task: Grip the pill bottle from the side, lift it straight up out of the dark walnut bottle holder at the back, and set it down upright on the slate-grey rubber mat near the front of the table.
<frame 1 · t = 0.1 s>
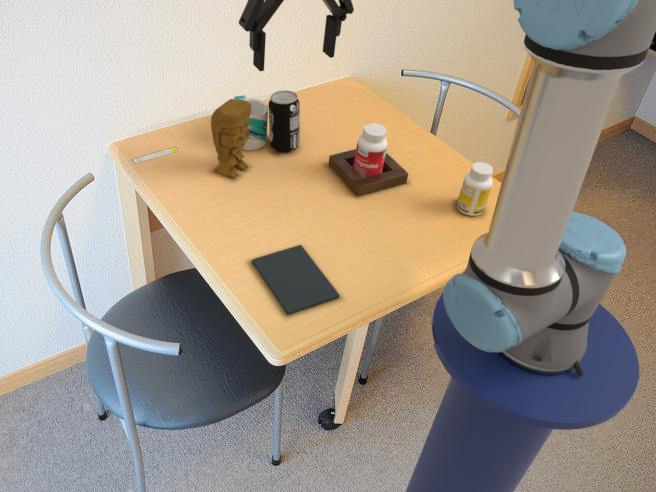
hand: (294, 61, 113), 29 cm above the table, tool pointing down, fingers open, 13 cm apart
pill bottle: (366, 174, 139), resting in holder
mat: (294, 279, 115), on the table
figurine: (229, 169, 139), on the table
holder: (366, 174, 139), on the table
beverage can: (285, 147, 145), on the table
supplement bottle: (469, 209, 132), on the table
mug: (246, 135, 148), on the table
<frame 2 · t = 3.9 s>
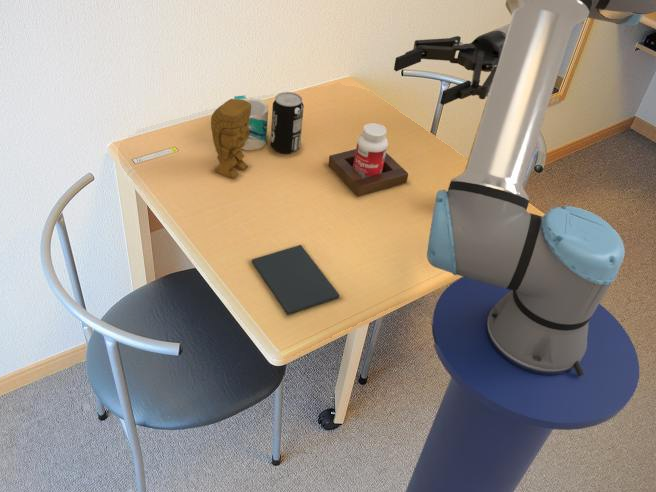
hand: (418, 81, 128), 20 cm above the table, tool horizontal, fingers open, 13 cm apart
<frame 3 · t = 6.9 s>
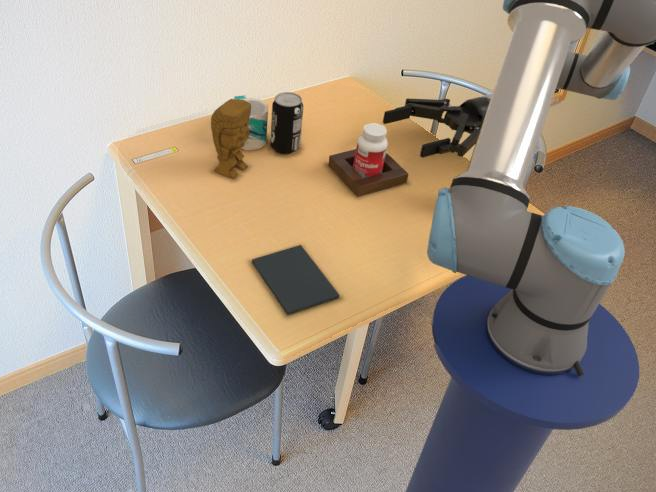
hand: (402, 134, 136), 8 cm above the table, tool horizontal, fingers open, 13 cm apart
nothing on the table moved.
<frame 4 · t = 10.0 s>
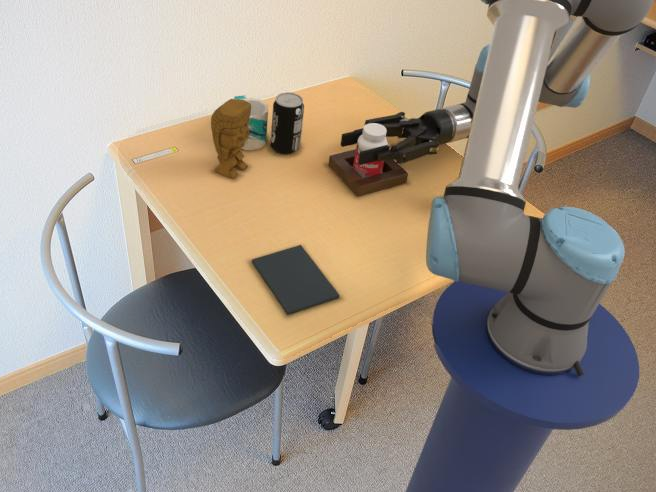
hand: (351, 149, 132), 8 cm above the table, tool horizontal, fingers closed on pill bottle, 6 cm apart
pill bottle: (366, 174, 139), resting in holder, touching gripper
everything else where it was.
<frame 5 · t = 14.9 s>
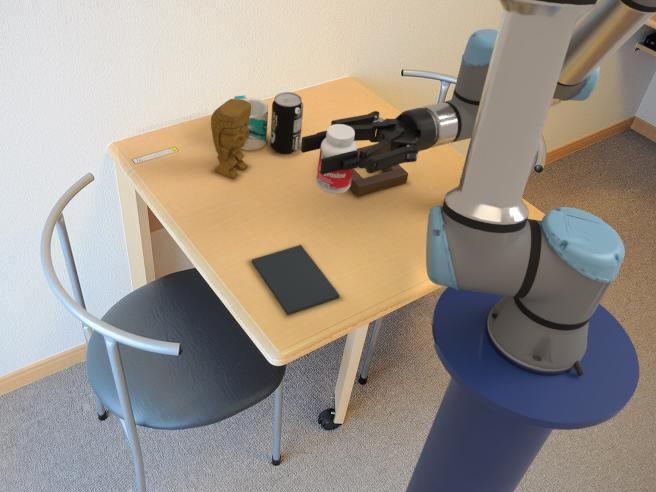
hand: (312, 155, 110), 19 cm above the table, tool horizontal, fingers closed on pill bottle, 6 cm apart
pill bottle: (333, 185, 117), point 11 cm above the table, touching gripper
everything else where it was.
when the fingers open (8 cm above the table, at t = 20.0 s): pill bottle stays where it is, resting on mat.
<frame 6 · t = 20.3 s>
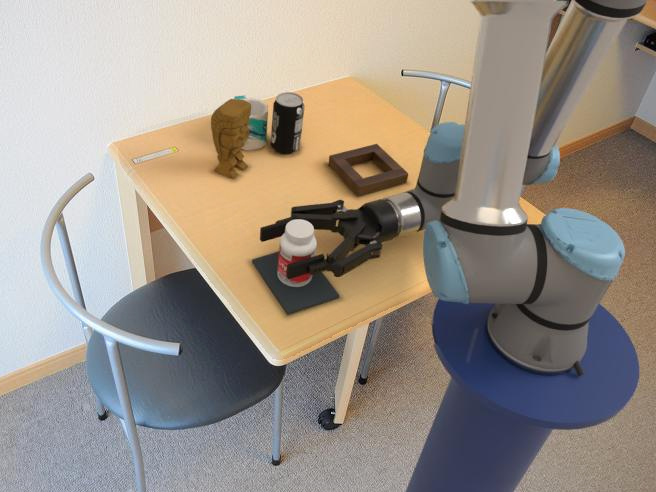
hand: (274, 253, 108), 8 cm above the table, tool horizontal, fingers open, 9 cm apart
pill bottle: (294, 276, 115), point 1 cm above the table, touching mat
everything else where it was.
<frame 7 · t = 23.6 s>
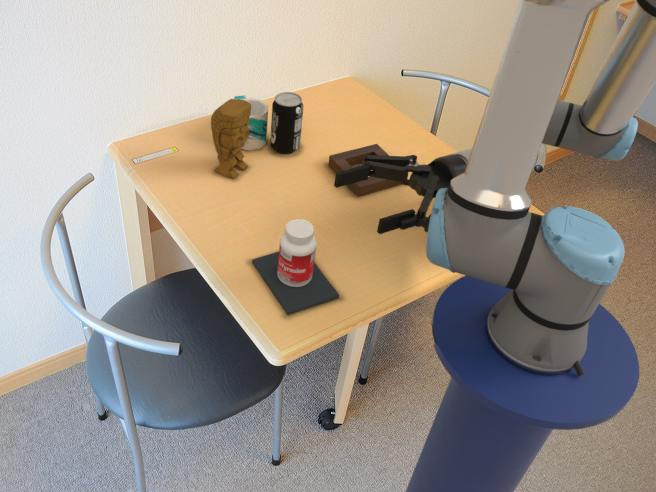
hand: (356, 202, 110), 14 cm above the table, tool horizontal, fingers open, 13 cm apart
supplement bottle: (477, 191, 132), point 3 cm above the table
everything else where it was.
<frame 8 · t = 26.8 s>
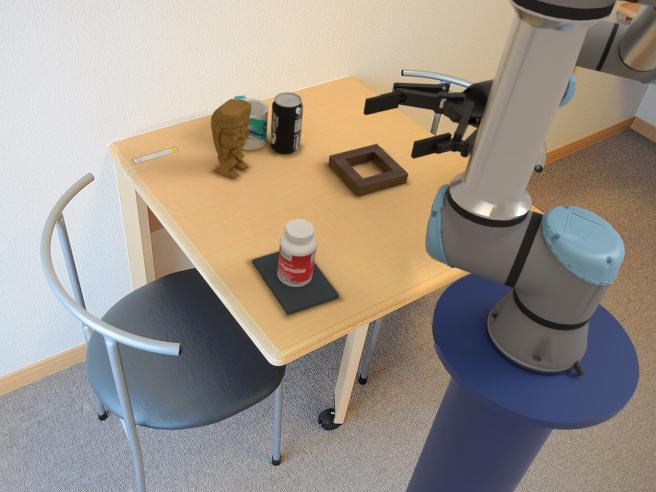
hand: (388, 127, 104), 26 cm above the table, tool horizontal, fingers open, 13 cm apart
nothing on the table moved.
at the end: pill bottle inside the target area on the mat (0.1 cm from its centre), point 0.6 cm above the mat's base; pill bottle tilted 0°; the gripper is holding nothing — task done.
